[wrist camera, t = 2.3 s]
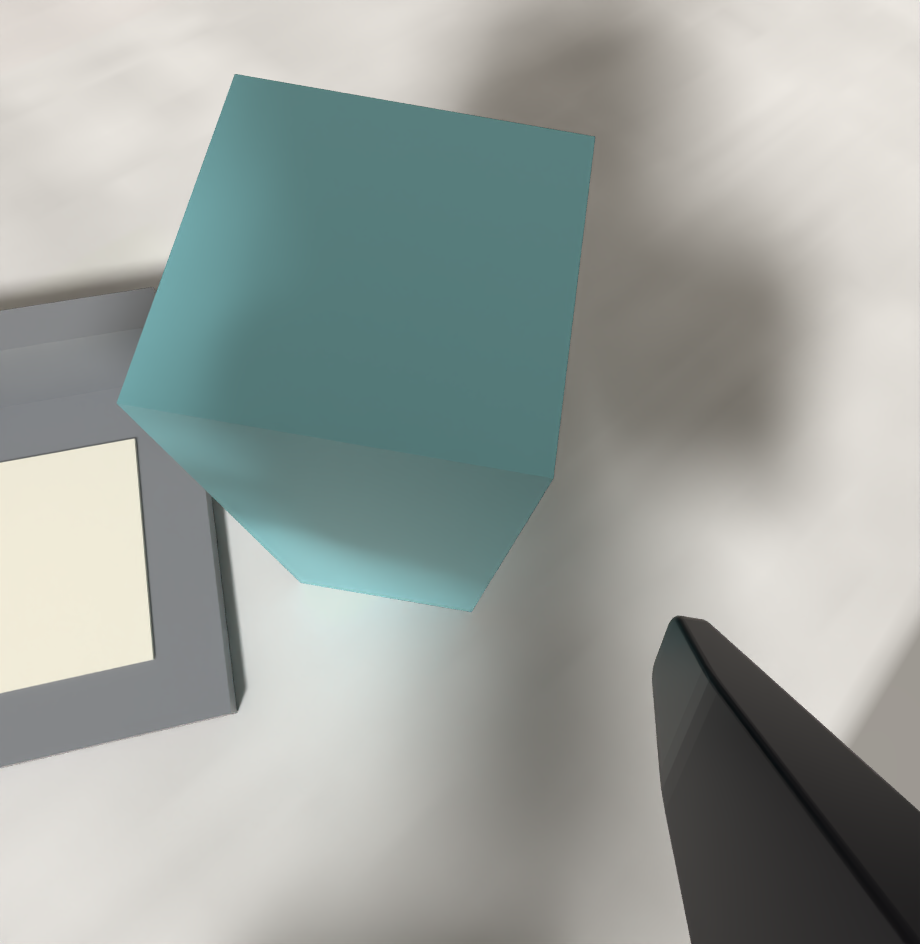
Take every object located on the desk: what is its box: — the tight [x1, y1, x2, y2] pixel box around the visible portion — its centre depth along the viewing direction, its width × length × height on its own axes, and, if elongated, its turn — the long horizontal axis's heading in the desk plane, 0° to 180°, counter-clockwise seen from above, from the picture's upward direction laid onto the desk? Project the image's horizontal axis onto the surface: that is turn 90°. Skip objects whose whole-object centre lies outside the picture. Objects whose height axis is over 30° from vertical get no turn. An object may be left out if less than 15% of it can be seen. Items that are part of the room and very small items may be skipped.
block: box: [117, 74, 595, 612], centre depth 14 cm, size 5×5×12 cm
